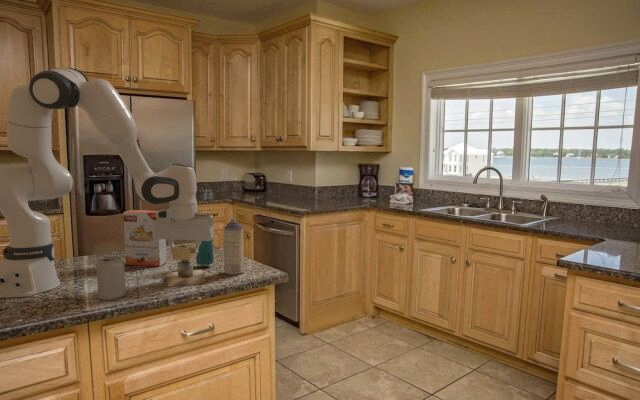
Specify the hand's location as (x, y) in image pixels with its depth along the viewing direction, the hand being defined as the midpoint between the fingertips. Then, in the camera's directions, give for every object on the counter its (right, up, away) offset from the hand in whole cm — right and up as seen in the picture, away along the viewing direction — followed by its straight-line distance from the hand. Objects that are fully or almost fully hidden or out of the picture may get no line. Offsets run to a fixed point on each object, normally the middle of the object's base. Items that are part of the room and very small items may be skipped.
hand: (184, 252), depth 149 cm
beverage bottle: (+2, -8, +18) cm, 20 cm away
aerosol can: (+15, -9, +10) cm, 20 cm away
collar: (0, -2, 0) cm, 2 cm away
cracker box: (-21, -7, +21) cm, 31 cm away
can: (-17, -12, -17) cm, 26 cm away
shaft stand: (0, -9, +1) cm, 10 cm away
